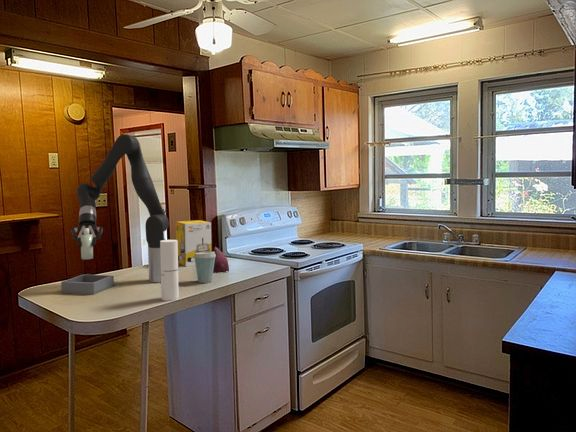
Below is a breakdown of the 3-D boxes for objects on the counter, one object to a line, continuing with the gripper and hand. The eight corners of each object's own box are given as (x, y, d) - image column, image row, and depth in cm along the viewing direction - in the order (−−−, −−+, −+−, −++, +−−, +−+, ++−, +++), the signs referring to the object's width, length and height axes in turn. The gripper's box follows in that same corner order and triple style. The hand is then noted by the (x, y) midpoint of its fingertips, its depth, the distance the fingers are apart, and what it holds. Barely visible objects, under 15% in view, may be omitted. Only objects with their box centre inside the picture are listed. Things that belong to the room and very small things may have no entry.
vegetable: (208, 277, 247) (200, 251, 245) (218, 271, 256) (210, 246, 255) (224, 274, 243) (216, 248, 241) (233, 268, 252) (225, 243, 250)
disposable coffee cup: (190, 283, 220) (189, 253, 219) (201, 278, 231) (201, 249, 229) (209, 284, 217) (208, 254, 215) (219, 280, 227) (219, 250, 226)
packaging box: (185, 266, 261) (184, 223, 259) (176, 262, 274) (175, 221, 272) (211, 263, 270) (211, 222, 267) (201, 259, 283) (200, 220, 281)
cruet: (95, 257, 209) (94, 227, 208) (88, 259, 204) (87, 229, 203) (85, 257, 210) (84, 227, 209) (79, 259, 205) (77, 228, 204)
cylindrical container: (174, 301, 189) (172, 242, 187) (158, 300, 190) (157, 241, 188) (181, 296, 196) (180, 239, 194) (166, 295, 197) (165, 239, 195)
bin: (113, 285, 215) (113, 275, 214) (94, 294, 199) (93, 283, 199) (83, 284, 218) (83, 274, 217) (61, 292, 202) (61, 281, 201)
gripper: (70, 212, 210) (68, 241, 200) (103, 211, 215) (103, 240, 205) (71, 222, 215) (70, 251, 205) (104, 221, 220) (103, 250, 210)
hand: (86, 245), depth 205 cm, fingers closed on cruet, 5 cm apart
